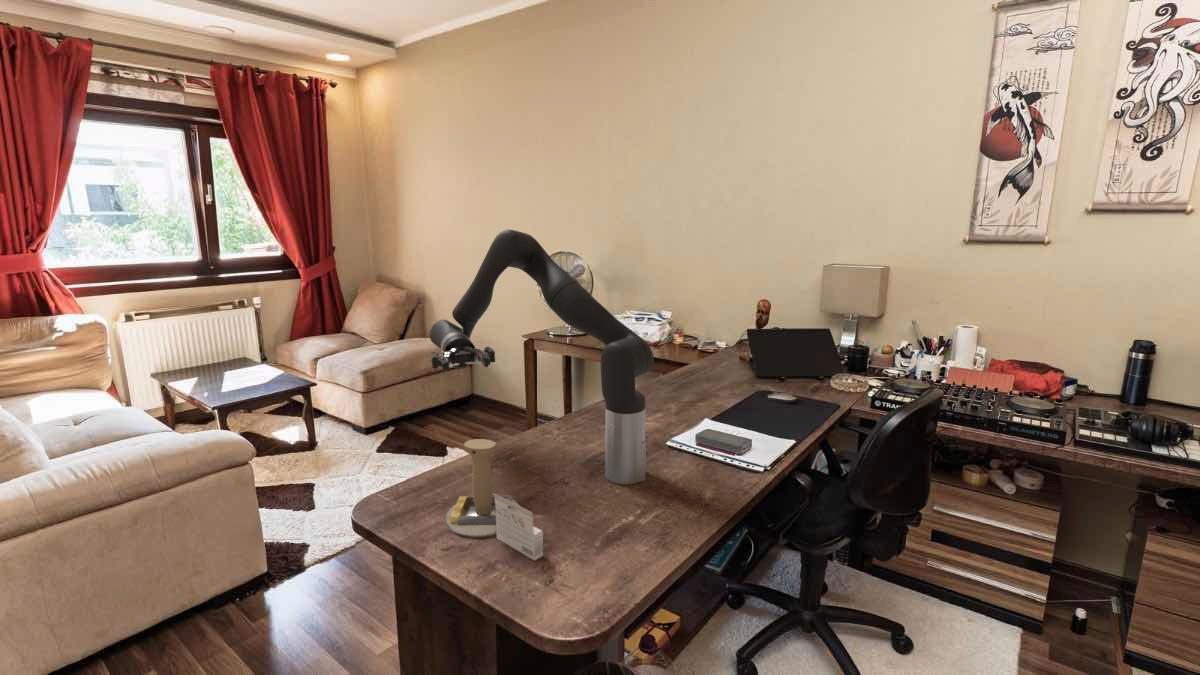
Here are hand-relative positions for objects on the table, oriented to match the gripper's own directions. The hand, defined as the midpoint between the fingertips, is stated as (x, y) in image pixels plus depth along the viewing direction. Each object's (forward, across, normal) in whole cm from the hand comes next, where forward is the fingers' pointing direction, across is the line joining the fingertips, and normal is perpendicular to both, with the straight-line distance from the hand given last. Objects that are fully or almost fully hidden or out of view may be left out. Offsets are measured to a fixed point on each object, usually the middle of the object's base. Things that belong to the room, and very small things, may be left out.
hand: (467, 364), depth 128 cm
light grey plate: (+16, -1, +28) cm, 33 cm away
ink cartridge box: (+29, +4, +29) cm, 41 cm away
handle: (+16, -1, +28) cm, 32 cm away
